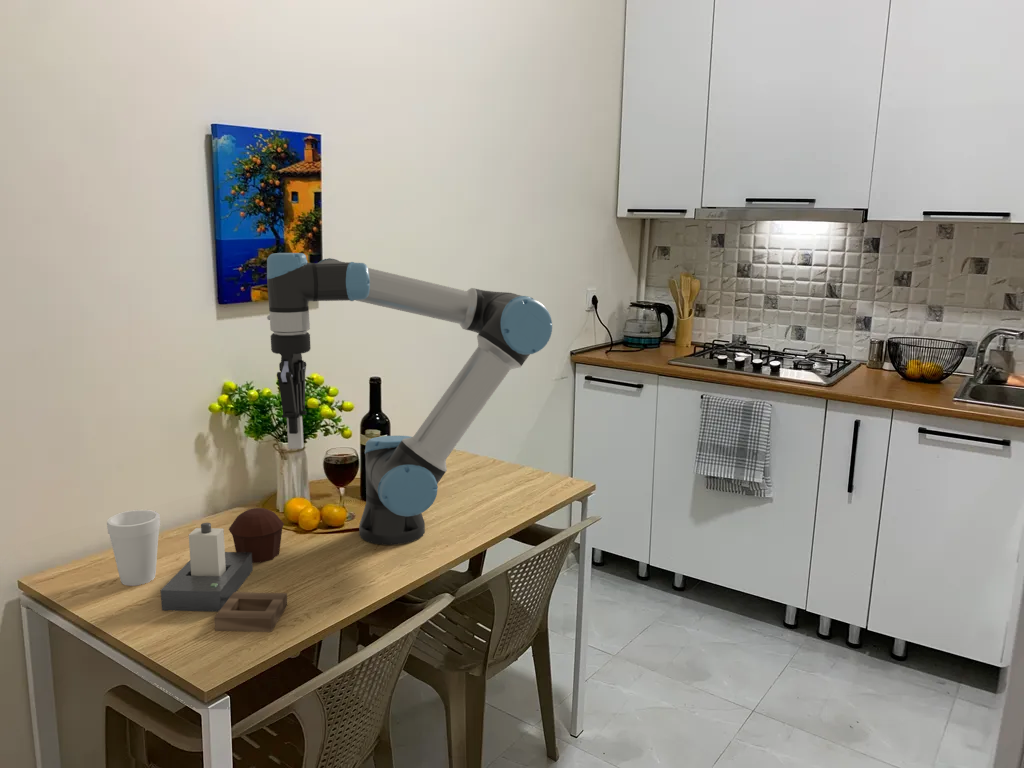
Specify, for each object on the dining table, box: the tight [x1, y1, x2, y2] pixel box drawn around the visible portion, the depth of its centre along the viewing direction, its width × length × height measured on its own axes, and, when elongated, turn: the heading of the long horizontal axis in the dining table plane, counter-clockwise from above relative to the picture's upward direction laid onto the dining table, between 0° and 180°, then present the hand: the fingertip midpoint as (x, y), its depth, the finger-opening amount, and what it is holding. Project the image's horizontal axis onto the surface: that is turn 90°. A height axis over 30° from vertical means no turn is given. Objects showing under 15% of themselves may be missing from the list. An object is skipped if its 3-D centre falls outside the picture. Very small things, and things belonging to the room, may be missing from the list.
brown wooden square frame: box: [213, 591, 288, 633], centre depth 148 cm, size 10×10×2 cm
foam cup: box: [106, 509, 161, 587], centre depth 162 cm, size 10×9×13 cm
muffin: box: [228, 507, 285, 564], centre depth 175 cm, size 12×11×10 cm
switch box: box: [160, 551, 254, 613], centre depth 159 cm, size 18×11×4 cm, turn 179°
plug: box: [188, 522, 226, 576], centre depth 158 cm, size 4×5×14 cm, turn 89°
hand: (296, 447), depth 164 cm, fingers closed
